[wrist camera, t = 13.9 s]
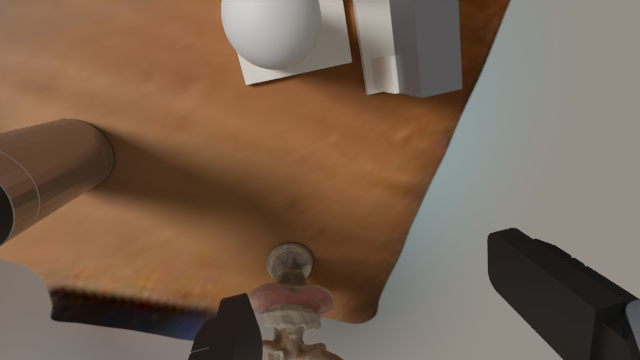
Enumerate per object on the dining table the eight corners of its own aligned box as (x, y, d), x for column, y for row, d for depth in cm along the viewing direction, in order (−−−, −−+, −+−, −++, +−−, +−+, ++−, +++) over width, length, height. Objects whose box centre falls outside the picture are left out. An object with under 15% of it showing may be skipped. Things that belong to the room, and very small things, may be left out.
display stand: (256, 118, 43) (239, 153, 25) (212, -44, 37) (147, -152, 19) (414, 83, 44) (506, 93, 26) (399, -81, 38) (509, -216, 20)
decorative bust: (271, 321, 53) (276, 487, 29) (243, 255, 50) (223, 377, 26) (332, 296, 54) (385, 437, 30) (308, 230, 52) (345, 326, 27)
